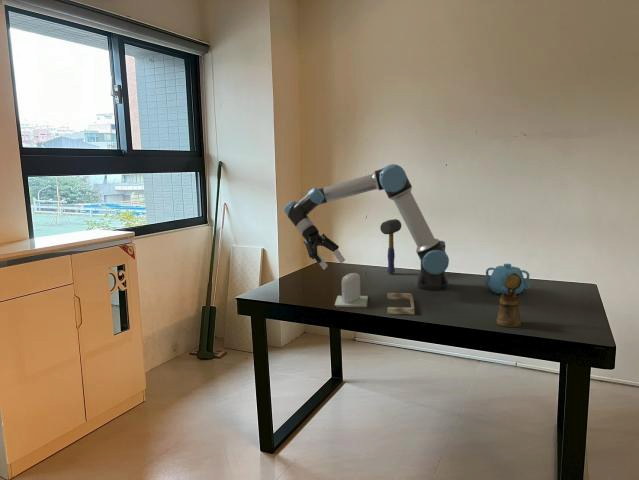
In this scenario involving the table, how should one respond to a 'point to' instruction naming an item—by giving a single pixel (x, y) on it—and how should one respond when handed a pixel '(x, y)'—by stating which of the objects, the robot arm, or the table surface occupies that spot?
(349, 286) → the grey upright block
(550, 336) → the table surface
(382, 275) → the table surface
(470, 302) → the table surface
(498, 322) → the brown wooden ornament
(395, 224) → the rubber mallet
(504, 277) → the decorative pot
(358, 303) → the sage mat
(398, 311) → the frame
